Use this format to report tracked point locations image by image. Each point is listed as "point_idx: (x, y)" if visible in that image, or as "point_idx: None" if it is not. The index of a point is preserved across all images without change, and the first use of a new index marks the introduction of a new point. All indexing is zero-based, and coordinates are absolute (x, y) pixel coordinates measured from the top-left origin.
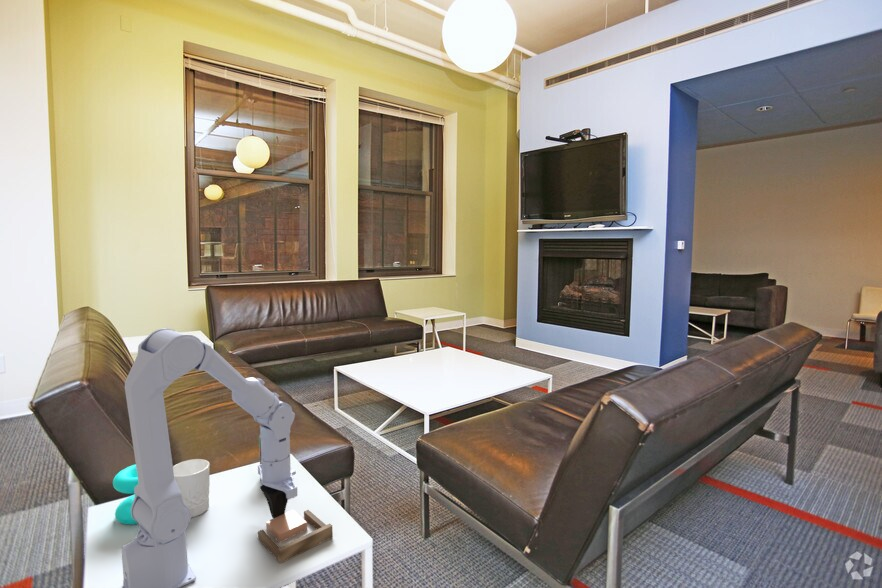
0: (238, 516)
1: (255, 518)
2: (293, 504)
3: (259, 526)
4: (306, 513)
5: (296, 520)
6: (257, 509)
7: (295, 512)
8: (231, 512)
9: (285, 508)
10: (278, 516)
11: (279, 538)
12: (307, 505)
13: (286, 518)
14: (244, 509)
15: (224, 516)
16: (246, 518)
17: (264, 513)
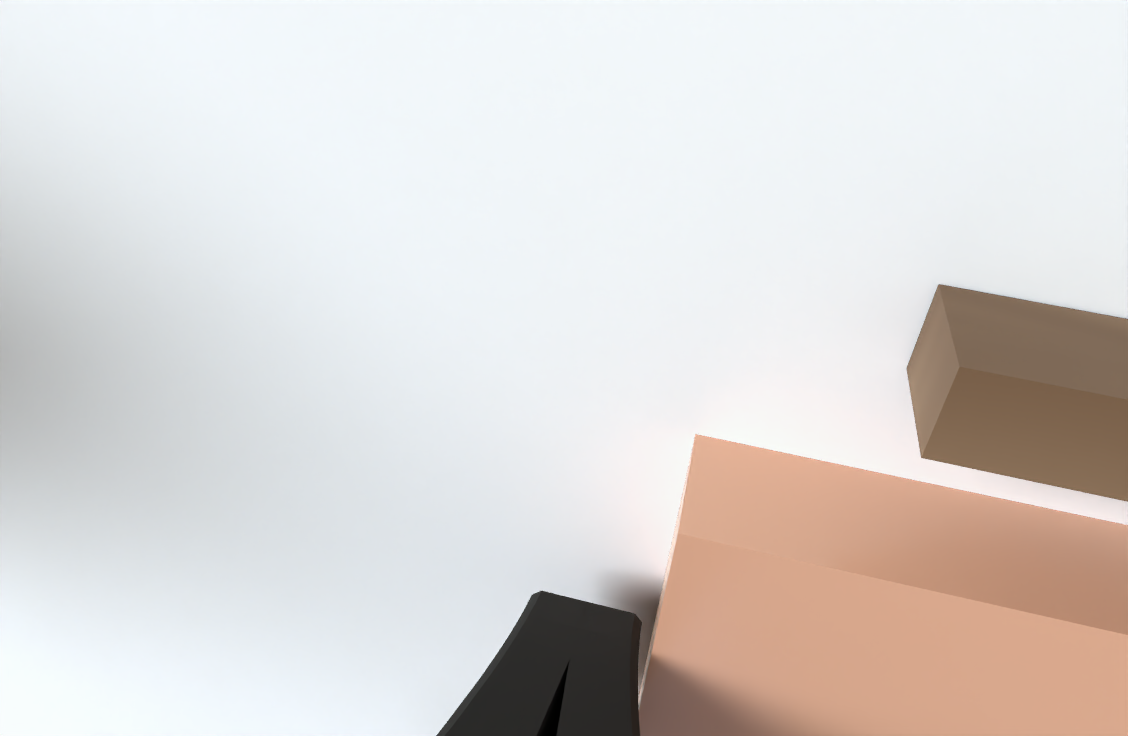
0: (163, 691)
1: (318, 655)
2: (321, 184)
3: None
4: (1049, 482)
5: (1038, 705)
6: (133, 539)
7: (795, 564)
8: (46, 674)
9: (630, 713)
10: (642, 729)
11: None
12: (566, 19)
13: (811, 726)
14: (53, 597)
15: (87, 730)
16: (253, 686)
17: (280, 556)
